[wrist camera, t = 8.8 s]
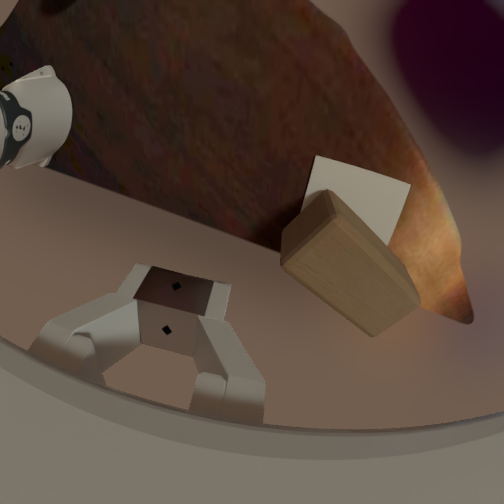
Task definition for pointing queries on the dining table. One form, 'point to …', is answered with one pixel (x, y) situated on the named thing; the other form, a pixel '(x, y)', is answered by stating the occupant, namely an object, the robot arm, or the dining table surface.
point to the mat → (360, 193)
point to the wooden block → (347, 265)
